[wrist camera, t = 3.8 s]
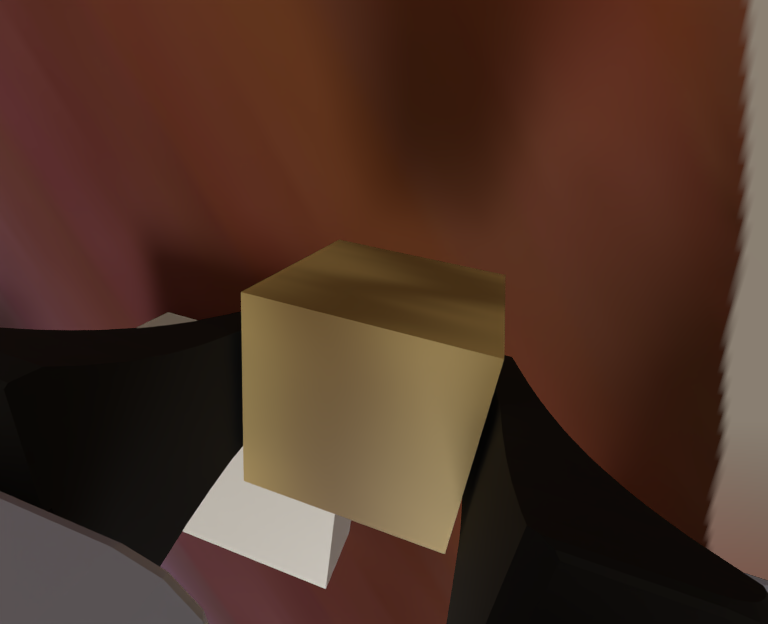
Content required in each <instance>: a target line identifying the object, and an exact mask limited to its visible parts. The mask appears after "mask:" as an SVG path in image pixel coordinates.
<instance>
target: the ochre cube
mask: <svg viewBox="0 0 768 624" xmlns="http://www.w3.org/2000/svg"><path fill="white" fill-rule="evenodd" d="M241 330H242V399H243V469H244V481H245V482H248V483H251V484H254V485H256V486H259V487H262V488H265V489H267V490H270V491H273V492H276V493H278V494H281V495H284V496H287V497H289V498H292V499H295V500H298V501H300V502H303V503H306V504H308V505H311V506H314V507H317V508H319V509H322V510H325V511H328V512H330V513H333V514H336V515H339V516H341V517H344V518H347V519H350V520H352V521H355V522H358V523H361V524H363V525H366V526H369V527H372V528H374V529H377V530H380V531H383V532H385V533H388V534H391V535H394V536H396V537H399V538H402V539H405V540H407V541H410V542H413V543H416V544H418V545H421V546H424V547H427V548H429V549H432V550H435V551H438V552H440V553H443V554H445V552H446V548H447V545H448V542H449V538H450V535H451V532H452V529H453V525H454V522H455V519H456V516H457V512H458V509H459V506H460V502H461V499H462V496H463V493H464V489H465V486H466V483H467V479H468V476H469V473H470V470H471V466H472V463H473V460H474V456H475V453H476V450H477V447H478V443H479V440H480V437H481V433H482V430H483V427H484V424H485V420H486V417H487V414H488V411H489V407H490V404H491V401H492V397H493V394H494V391H495V388H496V384H497V381H498V378H499V374H500V371H501V368H502V365H503V361H504V338H505V275H502V274H498V273H493V272H488V271H483V270H479V269H474V268H469V267H465V266H460V265H455V264H451V263H446V262H441V261H436V260H432V259H427V258H422V257H418V256H413V255H408V254H404V253H399V252H394V251H389V250H385V249H380V248H375V247H371V246H366V245H361V244H357V243H352V242H347V241H342V240H338V241H336V242H334V243H332V244H331V245H329V246H327V247H325V248H323V249H321V250H319V251H317V252H315V253H314V254H312V255H310V256H308V257H306V258H304V259H302V260H300V261H298V262H297V263H295V264H293V265H291V266H289V267H287V268H285V269H283V270H281V271H280V272H278V273H276V274H274V275H272V276H270V277H268V278H266V279H265V280H263V281H261V282H259V283H257V284H255V285H253V286H251V287H249V288H248V289H246V290H244V291H242V292H241Z"/></svg>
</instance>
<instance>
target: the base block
mask: <svg viewBox="0 0 768 624" xmlns="http://www.w3.org/2000/svg"><path fill="white" fill-rule="evenodd" d="M192 321H197V320H195V319H191V318H188V317H184V316H180V315H177V314H173V313H170V312H168V313H166V314H163V315H161V316H159V317H157V318H155V319H153V320H151V321H149V322H147V323H145V324H143V325H141V326H139V327H137V328H145V327H155V326H163V325H172V324H179V323H186V322H192ZM350 523H351V520H350V519H347V518H344V517H341V516H339V515H336V514H333V513H330V512H328V511H325V510H322V509H319V508H317V507H314V506H311V505H308V504H306V503H303V502H300V501H298V500H295V499H292V498H289V497H287V496H284V495H281V494H278V493H276V492H273V491H270V490H267V489H265V488H262V487H259V486H256V485H254V484H251V483H248V482H245V481H244V469H243V447H242V448H241V449H240V450H239V451H238V453H237V454H236V455H235V456H234V458H233V459H232V460H231V461H230V463H229V464H228V466H227V467H226V468H225V470H224V471H223V473H222V474H221V475H220V477H219V478H218V480H217V481H216V482H215V484H214V485H213V486H212V488H211V489H210V491H209V492H208V494H207V495H206V497H205V498H204V500H203V501H202V502H201V504H200V505H199V507H198V508H197V510H196V511H195V513H194V514H193V516H192V517H191V519H190V520H189V522H188V523H187V525H186V526H185V528H184V529H183V532H186V533H188V534H191V535H193V536H195V537H198V538H200V539H203V540H205V541H208V542H210V543H213V544H215V545H218V546H220V547H223V548H225V549H228V550H230V551H233V552H235V553H238V554H240V555H243V556H245V557H248V558H250V559H253V560H255V561H258V562H260V563H263V564H265V565H268V566H270V567H272V568H275V569H277V570H280V571H282V572H285V573H287V574H290V575H292V576H295V577H297V578H300V579H302V580H305V581H307V582H310V583H312V584H315V585H317V586H320V587H322V588H325V589H326V587H327V585H328V582H329V580H330V577H331V575H332V572H333V570H334V568H335V565H336V563H337V560H338V558H339V555H340V553H341V551H342V548H343V546H344V543H345V541H346V538H347V536H348V533H349V530H350Z"/></svg>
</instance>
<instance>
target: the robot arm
mask: <svg viewBox="0 0 768 624" xmlns="http://www.w3.org/2000/svg"><path fill="white" fill-rule="evenodd" d="M242 447H243V399H242V330H241V312H237V313H232V314H228V315H223V316H218V317H213V318H208V319H203V320H197V321H192V322H186V323H179V324H172V325H163V326H155V327H145V328H128V329H111V330H30V329H14V328H0V624H209V623H208V620H207V618H206V616H205V613H204V611H203V609H202V608H201V607H200V606H199V605H198V604H197V603H196V601H195V600H194V599H193V598H192V597H191V596H190V595H189V594H188V593H187V592H186V591H185V590H184V589H183V588H182V586H181V585H180V584H179V583H178V582H177V581H176V580H175V579H174V578H173V577H172V576H171V575H170V574H169V573H168V572H167V571H166V570H164V569H162V568H161V567H160V565H161V564H162V562H163V561H164V559H165V558H166V556H167V554H168V553H169V551H170V550H171V548H172V547H173V545H174V543H175V542H176V540H177V539H178V537H179V536H180V534H181V532H182V531H183V529H184V528H185V526H186V525H187V523H188V522H189V520H190V519H191V517H192V516H193V514H194V513H195V511H196V510H197V508H198V507H199V505H200V504H201V502H202V501H203V500H204V498H205V497H206V495H207V494H208V492H209V491H210V489H211V488H212V486H213V485H214V484H215V482H216V481H217V480H218V478H219V477H220V475H221V474H222V473H223V471H224V470H225V468H226V467H227V466H228V464H229V463H230V461H231V460H232V459H233V458H234V456H235V455H236V454H237V453H238V451H239V450H240V449H241V448H242ZM447 624H768V580H765V579H762V578H759V577H755V576H752V575H749V574H746V573H743V572H742V571H740V570H739V569H737V568H736V567H734V566H733V565H731V564H729V563H728V562H726V561H725V560H723V559H722V558H720V557H719V556H717V555H716V554H714V553H713V552H711V551H710V550H708V549H707V548H705V547H704V546H702V545H700V544H699V543H697V542H696V541H694V540H693V539H691V538H690V537H688V536H687V535H686V534H684V533H683V532H681V531H680V530H679V529H677V528H676V527H675V526H673V525H672V524H670V523H669V522H668V521H666V520H665V519H664V518H662V517H661V516H660V515H658V514H657V513H656V512H654V511H653V510H651V509H650V508H649V507H648V506H646V505H645V504H644V503H643V502H641V501H640V500H639V499H637V498H636V497H635V496H634V495H632V494H631V493H630V492H629V491H627V490H626V489H625V488H624V487H623V486H622V485H620V484H619V483H618V482H617V481H616V480H615V479H614V478H612V477H611V476H610V475H609V474H608V473H607V472H605V471H604V470H603V469H602V468H601V467H600V466H599V465H598V464H597V463H596V462H594V461H593V460H592V459H591V458H590V457H589V456H588V455H587V454H586V453H585V452H584V451H583V450H582V449H581V448H580V447H579V446H578V445H577V444H576V442H575V441H574V440H573V439H572V438H571V437H570V436H569V435H568V434H567V433H566V432H565V431H564V430H563V428H562V427H561V426H560V425H559V424H558V422H557V421H556V420H555V419H554V418H553V416H552V415H551V414H550V413H549V411H548V410H547V409H546V408H545V406H544V405H543V404H542V402H541V401H540V399H539V398H538V397H537V395H536V394H535V392H534V391H533V390H532V388H531V387H530V385H529V384H528V382H527V381H526V379H525V377H524V376H523V374H522V373H521V371H520V369H519V368H518V366H517V364H516V363H515V361H514V360H513V358H512V357H509V356H505V355H504V361H503V365H502V368H501V371H500V374H499V378H498V381H497V384H496V388H495V391H494V394H493V397H492V401H491V404H490V407H489V411H488V414H487V417H486V420H485V424H484V427H483V430H482V433H481V437H480V440H479V443H478V447H477V450H476V453H475V456H474V460H473V463H472V466H471V470H470V473H469V476H468V479H467V483H466V486H465V489H464V493H463V496H462V515H461V529H460V540H459V547H458V553H457V560H456V566H455V573H454V580H453V586H452V593H451V599H450V605H449V612H448V618H447Z"/></svg>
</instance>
